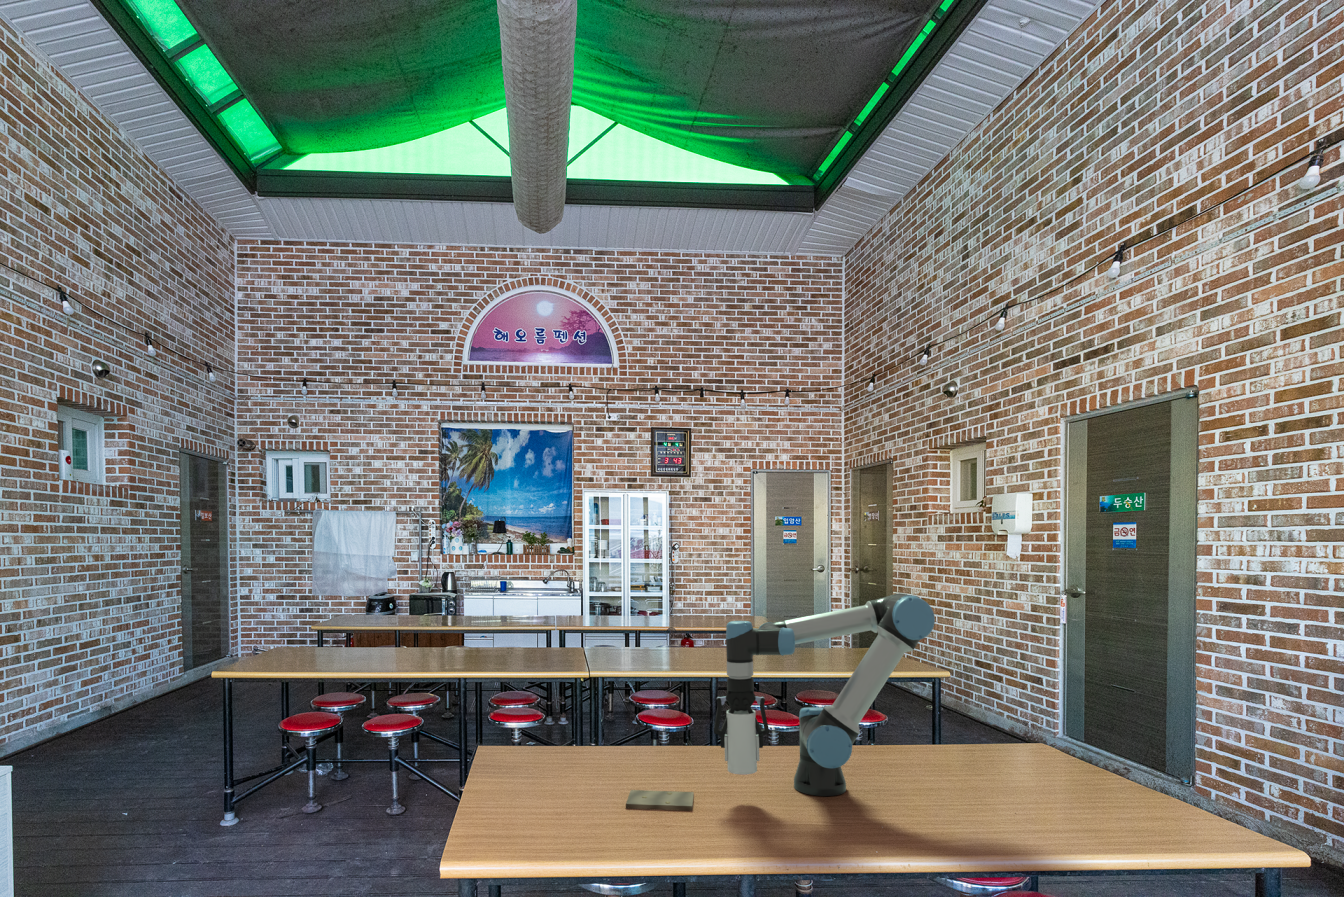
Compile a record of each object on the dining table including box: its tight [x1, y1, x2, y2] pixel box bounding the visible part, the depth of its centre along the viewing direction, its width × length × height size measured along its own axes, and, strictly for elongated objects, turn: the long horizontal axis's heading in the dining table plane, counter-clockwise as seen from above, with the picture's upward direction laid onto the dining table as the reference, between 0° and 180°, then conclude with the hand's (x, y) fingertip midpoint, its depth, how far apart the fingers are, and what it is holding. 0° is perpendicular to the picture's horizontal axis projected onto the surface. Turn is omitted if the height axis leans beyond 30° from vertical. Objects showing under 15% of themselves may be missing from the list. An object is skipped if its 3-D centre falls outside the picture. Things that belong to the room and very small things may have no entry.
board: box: [625, 789, 695, 812], centre depth 213 cm, size 18×12×1 cm, turn 87°
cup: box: [726, 709, 758, 775], centre depth 216 cm, size 8×8×16 cm
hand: (742, 759), depth 216 cm, fingers closed on cup, 8 cm apart
